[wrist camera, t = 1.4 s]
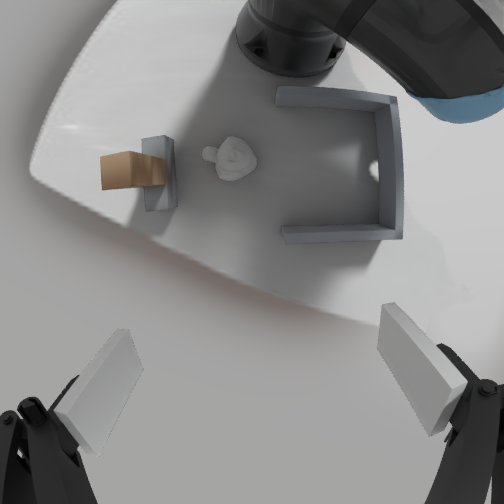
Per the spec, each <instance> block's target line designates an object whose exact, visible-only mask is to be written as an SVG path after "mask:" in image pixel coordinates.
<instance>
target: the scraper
mask: <svg viewBox="0 0 504 504" xmlns="http://www.w3.org/2000/svg"><path fill="white" fill-rule="evenodd" d="M100 162H101V182H102V190H111V189H123V188H136V187H144V196H145V208H146V211H155V210H165V209H171V208H174V207H177V193H176V178H175V159H174V140H173V139H171V138H169V137H167V136H165V135H162V136H156V137H150V138H144V139H142V154H141V153H137V152H132V151H126V152H121V153H116V154H112V155H107V156H102V157H100Z"/></svg>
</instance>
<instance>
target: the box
mask: <svg viewBox="0 0 504 504" xmlns="http://www.w3.org/2000/svg"><path fill="white" fill-rule="evenodd" d="M275 107H320V108H337V109H349V110H359V111H368V112H374V115H375V125H376V136H377V150H378V169H379V224H349V225H315V226H288V227H281V232H282V237H283V239H284V241H285V243H286V244H300V243H322V242H346V241H370V240H395V239H403V218H404V172H403V153H402V138H401V128H400V118H399V110H398V103H397V97H395V96H389V95H383V94H377V93H371V92H364V91H356V90H347V89H337V88H325V87H307V86H278V88H277V92H276V96H275Z"/></svg>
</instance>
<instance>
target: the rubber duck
mask: <svg viewBox="0 0 504 504" xmlns="http://www.w3.org/2000/svg"><path fill="white" fill-rule="evenodd" d="M202 157H203V159H204V160H206V161H210V162H214V163H215V168H216V171H217V175H218V177H219V178H220V179H222V180H227V181H236V180H239V179H241V178H242V177H243V176H245V175H247V174H249V173H251V172H252V171H253V170H254V169H255V168H256V166H257V158H256V156H255V154H254V153H253V151H252V150H251V148H250V146H249V145H248V143H247V142H246V141H245V140H243V139H242V138H238V137H233V136H229V137H228V138H226V140H225V141H224V142H223V143H222V144H221V145H220V147H219V148H215V147H211V146H207V147H205V148H204V149H203V151H202Z"/></svg>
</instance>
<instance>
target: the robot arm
mask: <svg viewBox="0 0 504 504" xmlns="http://www.w3.org/2000/svg"><path fill="white" fill-rule="evenodd" d="M236 34H237V41H238V44H239V46H240V48H241V50H242V52H243V53H244V54H245V55H246V57H247V58H248V59H249V60H251V61H252V62H253V63H254V64H256V65H257V66H259V67H261V68H262V69H264V70H267V71H269V72H272V73H275V74H278V75H282V76H288V77H307V76H312V75H316V74H319V73H322V72H324V71H326V70H327V69H329V68H330V67H331V66H333V65H334V64H335V63H336V61H337V60H338V59H339V57H340V56H341V54H342V53H343V51H344V48H345V44H346V41H348V42H349V43H351V44H352V45H353V46H355V47H356V48H357V49H359V50H360V51H361V52H363V53H364V54H365V55H367V56H368V57H369V58H370V59H372V60H373V61H374V62H375V63H376V64H378V65H379V66H380V67H381V68H382V69H384V70H385V71H386V72H387V73H388V74H389V75H390V76H391V77H393V78H394V79H395V80H396V81H397V82H398V83H399V84H400V85H401V86H402V87H403V88H404V89H405V90H406V92H407V93H408V94H409V95H410V96H411V97H413V98H415V99H417V100H418V101H419V102H420V103H421V104H422V105H423V106H424V107H425V108H426V109H427V110H428V111H429V112H430V113H431V114H432V115H433V116H435V117H436V118H438V119H440V120H443V121H447V122H450V123H455V124H457V123H458V124H463V123H471V122H475V121H479V120H482V119H484V118H487V117H490V116H492V115H493V114H495V113H497V112H499V111H500V110H502V109H503V108H504V0H247V2H246V4H245V5H244V7H243V8H242V10H241V12H240V14H239V16H238V18H237V22H236ZM377 350H378V351H379V353H380V355H381V356H382V358H383V359H384V361H385V362H386V364H387V366H388V367H389V369H390V371H391V372H392V374H393V376H394V377H395V379H396V380H397V382H398V384H399V385H400V387H401V389H402V390H403V392H404V394H405V396H406V397H407V399H408V401H409V402H410V404H411V406H412V408H413V409H414V411H415V413H416V414H417V416H418V418H419V420H420V422H421V423H422V425H423V427H424V429H425V431H426V432H427V434H428V436H429V437H430V436H432V435H434V434H436V433H439V432H441V431H443V430H444V429H445V427H446V426H447V424H448V422H449V421H450V423H451V424H452V426H453V427H452V428H451V430H450V432H449V433H448V435H447V437H446V438H445V441H444V442H446V441H447V440H448V441H447V444H446V448H445V451H444V454H443V458H442V461H441V464H440V467H439V469H438V472H437V475H436V477H435V480H434V483H433V485H432V488H431V490H430V493H429V495H428V497H427V499H426V502H425V504H484V502H485V499H486V496H487V492H488V488H489V484H490V480H491V476H492V495H491V504H504V384H502V385H497V383H495V382H494V381H492V380H489V379H482V380H480V379H479V378H478V377H477V376H476V375H475V374H474V373H473V371H472V370H471V369H470V368H469V367H468V366H467V365H466V364H465V363H464V362H463V361H462V359H460V357H459V356H457V354H456V353H455V352H454V351H453V350H452V349H451V348H450V347H448V346H446V345H444V344H442V343H441V344H438V345H435V344H434V343H433V342H432V341H431V339H430V338H429V337H428V336H427V335H426V334H425V333H424V332H423V331H422V330H421V329H420V328H419V327H418V326H417V325H416V324H415V323H414V321H413V320H412V319H411V318H410V317H409V316H408V315H407V314H406V313H405V312H404V311H403V310H402V309H401V308H400V307H399V306H398V305H397V304H396V303H395V302H393V303H388V304H383V305H382V308H381V318H380V328H379V336H378V344H377ZM142 372H143V366H142V364H141V362H140V359H139V356H138V354H137V351H136V348H135V346H134V343H133V340H132V337H131V335H130V332H129V329H117V330H116V331H115V332H114V333H113V335H112V336H111V337H110V338H109V339H108V341H107V342H106V343H105V344H104V346H103V347H102V348H101V349H100V350H99V352H98V353H97V354H96V355H95V357H94V358H93V359H92V360H91V362H90V363H89V364H88V365H87V367H86V368H85V369H84V370H83V372H82V373H81V374H80V375H78V376H76V377H75V378H73V379H72V380H71V381H70V382H69V383H68V385H67V386H66V389H64V390H63V391H62V394H60V395H59V396H58V398H57V399H56V400H55V402H54V403H53V404H52V406H51V407H50V408H49V410H48V411H47V410H46V409H45V408H44V406H43V405H42V403H41V401H40V400H39V399H38V398H36V397H28V398H26V399H24V400H23V401H22V402H20V404H19V405H18V408H17V411H18V412H19V413H20V415H21V416H22V417H23V419H20V418H19V416H18V415H17V413H16V412H14V411H12V410H9V411H6V412H4V413H2V415H1V416H0V504H98V503H97V501H96V498H95V496H94V493H93V491H92V488H91V486H90V483H89V481H88V477H87V474H86V472H85V468H84V465H83V463H82V459H81V456H80V453H79V452H78V451H77V447H78V446H79V445H80V446H81V447H82V448H83V450H84V451H85V452H86V453H89V454H92V455H95V456H98V457H99V456H100V454H101V452H102V450H103V448H104V446H105V444H106V442H107V439H108V438H109V436H110V433H111V431H112V429H113V427H114V425H115V423H116V421H117V419H118V418H119V416H120V414H121V412H122V410H123V408H124V406H125V404H126V402H127V400H128V398H129V396H130V394H131V392H132V390H133V388H134V386H135V385H136V382H137V381H138V379H139V377H140V375H141V373H142ZM18 449H19V451H20V452H21V453H22V454H23V455H22V458H21V457H20V456H19V455H18V454H17V452H18Z"/></svg>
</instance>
